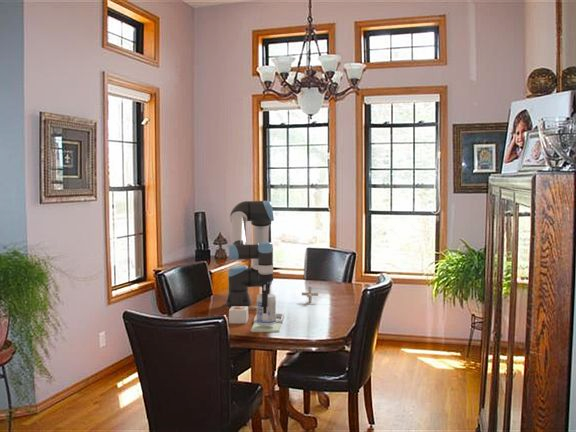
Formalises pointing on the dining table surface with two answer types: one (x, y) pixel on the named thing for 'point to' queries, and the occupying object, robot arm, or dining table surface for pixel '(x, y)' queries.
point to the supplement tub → (271, 310)
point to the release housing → (238, 314)
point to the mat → (266, 328)
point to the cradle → (275, 320)
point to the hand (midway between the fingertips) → (266, 316)
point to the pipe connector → (310, 294)
